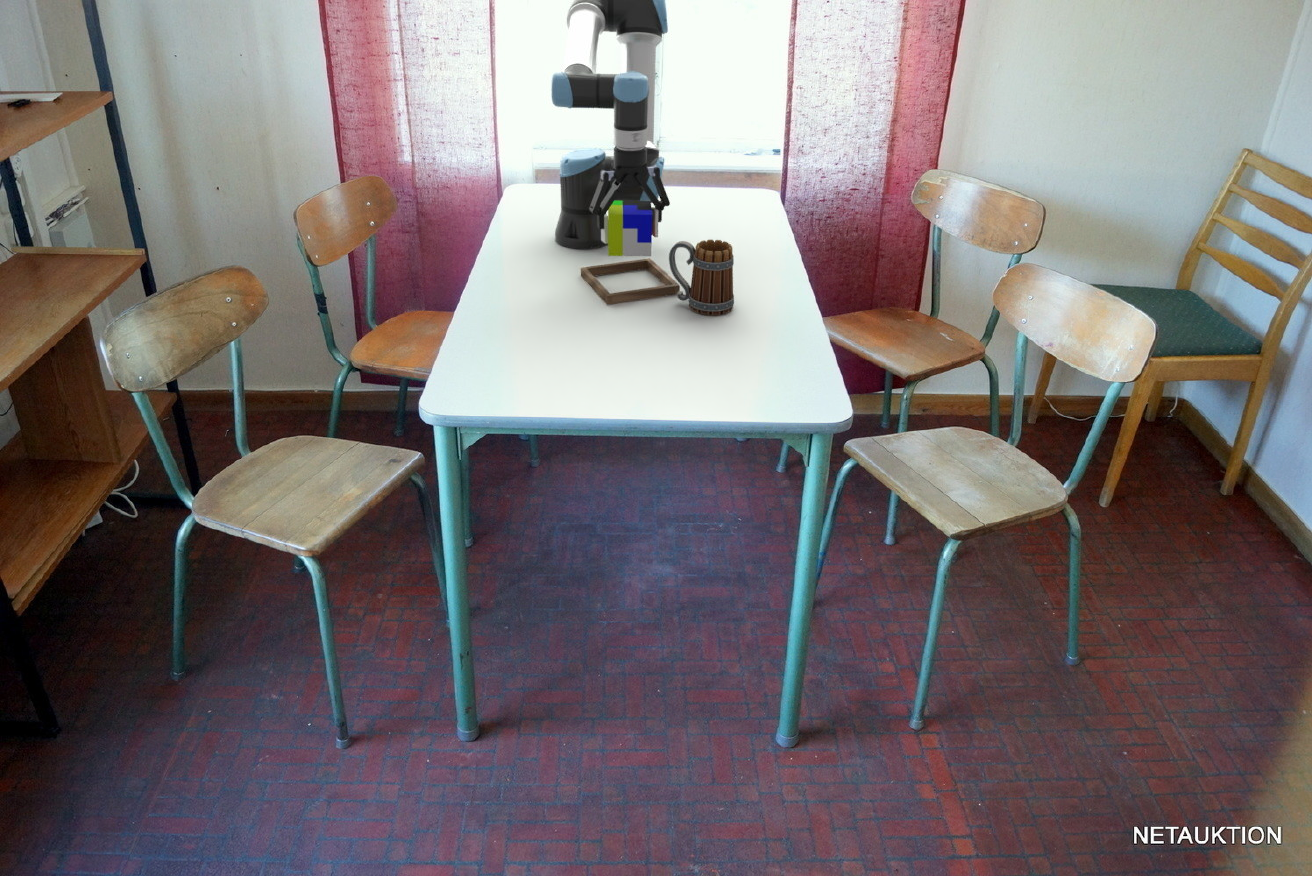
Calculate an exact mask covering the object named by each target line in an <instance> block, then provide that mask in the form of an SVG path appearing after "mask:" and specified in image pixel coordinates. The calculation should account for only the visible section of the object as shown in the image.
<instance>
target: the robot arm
mask: <svg viewBox="0 0 1312 876" xmlns="http://www.w3.org/2000/svg"><path fill="white" fill-rule="evenodd" d="M667 12H668V11H667V4H666V0H572V2H571V4H570V6H569V7H568V10H567V16H566V26H567V28H568V35H567V36H568V37H567V42H566V43H567V44H566V49H565V55H564V61H563V62H564V63H563V67H562V71H561V72H554V73H553V74H552V76H551V83H550V84H551V85H550V86H551V88H550V91H551V101H552V104H553V105H554V106H555V107H558V108H567V109H603V110H604V109H610V110H613V145H614V147H613V155H610V156H609V155H607V153H606V152H605V150H604V149H602V148H597V147H586V148H580V149H579V148H578V149H574V150H572V151H568V152H567V153H565V154H564V155H563V156H562V157H561V159H560V162H559V173H558V174H559V175H558V176H559V178H560V179H559V180H560V182H559V183H560V206H561V207H560V213H559V217H558V220H557V224H556V226H555V231H554V235H555V236H554V239H555V240H554V241H555V242H556V243H557V244H558V245H560V246H563V247H566V248H569V249H570V248H571V249H579V250H585V249H586V250H589V249H596V248H602V247H604V246H606V245H608V213H607V212H608V209H609V208H610V206H611V205H612V203H613V202H614V201H651V204H653V207H652V206H651V208H652V236H653V238H658V237H659V223H662V221H663V219H662V217H663V211H664V210H665V207H669V206H670V205H671V203H670V202H671V201H670V199H669V197H668V194H667V192H666V188H665V186H664V183H663V181H662V179H663V174H664V173H663V172H664V168H665V167H664V166H665V158H664V157H662V156H660V149H659V148H658V147H657V146H656V145H655V143H654V136H655V135H654V133H655V131H654V130H655V97H656V96H655V95H656V94H655V90H656V86H655V85H656V53H657V52H656V50H657V46H658V45H660V43H661V42H662V41H663V35H665V34H668V30H669V29H668V28H669V27H668V26H669V25H668V18H667V17H668V16H667V15H668V13H667ZM603 32H609V33H616V37H615V38H616V41H617V43H619V44H620V45H621V73H618V74H617V73H597V72H596V71H597V64H598V54H599V48H600V47H599V45H600V39H601V38H600V37H601V35H602V34H603ZM659 199H660V200H659Z"/></svg>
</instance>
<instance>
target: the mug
mask: <svg viewBox="0 0 1312 876" xmlns="http://www.w3.org/2000/svg"><path fill="white" fill-rule="evenodd" d="M679 248H684V249H685V250H687V251H688V253H689V258H688V259H687V260H686V264H687V265H688V266H690V265H691V264H693V266H692V275H691V280H690V281H691V284H690V283H689V282H688V281H687V280H686V279H685V278H684V277H683V275H682V274H681V272H680V270H679V268H678V267H677V263H676V252H677V250H678V249H679ZM734 261H735V260H734V255H733V245H732V244H731V243H729V242H728V241H725V240H724V241H722V240H721V239H715V241H714V239H707V240H701V241H700V242H697V243H696V245H695V246H694V245H693V244H692V243H690V241H689V242H688V241H685V240H682V241H681V240H680V241H678V242H676V243H675V244H674V245H673V246H672V247H671V248H670V250H669V254H668V263H669V268H670V272H671V274H672V276H673V277H674V280H675V281H676V282H677V283H678V284H679V285H680V287H682V288H683V290H684V291H682V290H680V291H678V293H677V294H676V297H677V299H678V300H680V301H681V302H682V301H683V302H685V301H687V302H688V307H689V309H690V310H691V311H693V312H694V313H697V314H699V315H702V316H708V317H710V316H711V317H716V316H722V315H726V314H728V313H730V312H731V311H732V310H733V308H734V304H735V295H734V276H733V275H734V272H733V271H734V270H733V269H734V267H733V266H734ZM684 292H685V293H684Z"/></svg>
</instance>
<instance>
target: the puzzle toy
mask: <svg viewBox="0 0 1312 876" xmlns="http://www.w3.org/2000/svg"><path fill="white" fill-rule="evenodd" d="M651 207H652V203H651V201H614V202H613V203H612V205H611V206H610V208H609V209H608V211H607V212H608V213H607V216H608V244H607V245H608V246H607V247H608V248H607V249H608V251H607V254H608V257H652V245H653V244H652V241H653V238H652V236H653V235H652V208H651Z"/></svg>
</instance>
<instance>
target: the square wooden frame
mask: <svg viewBox="0 0 1312 876" xmlns="http://www.w3.org/2000/svg"><path fill="white" fill-rule="evenodd" d="M642 270H648V271H649V272H650V273H651V274H652V275H653V276H654V277H655V278H657V280H659V282H661V283H662V284H663V285H659V286H652V287H645V288H639V289H632V290H630V289H629V290H626V291H616V292H611V293H610V292H609V291H608V289H607V288H606V287H604V285H603V284H602V283H601V282H600V281H599V280H598V279H597V277H599V276H605V275H607V276H608V275H612V274H620V273H629V272H634V271H642ZM580 277H581V278H582V279H583V280H584V282H585V283H586V284H587V285H588V286H589V287H590V288H591V289H592V290H593V292H595V293H596V295H597V296H598V297H599V298H600V299H601V301H603V302H604V303H605V304H606V306H608V305H616V304H623V303H629V302H635V301H642V300H643V301H644V300H648V299H654V298H655V299H656V298H663V297H668V296H675V295H676V296H677V293H678V291H681V285H680V283H679V282H678V281H677V280H676V279H674V278H673V277H671V275H669V274H668V273H667V272H666V271H665V270H663V269H662V268H661V267H660V265H658V264H657V263H656V262H655V261H654V260H653V259H652V258H651V257H649V258H641V259H634V260H628V261H620V262H613V263H606V264H598V265H591V266H590V265H589V266H583V267H580Z"/></svg>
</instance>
